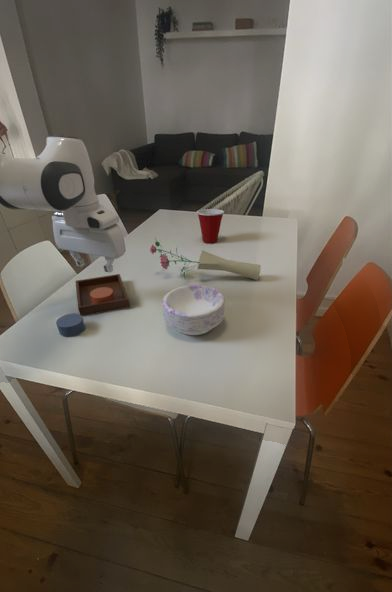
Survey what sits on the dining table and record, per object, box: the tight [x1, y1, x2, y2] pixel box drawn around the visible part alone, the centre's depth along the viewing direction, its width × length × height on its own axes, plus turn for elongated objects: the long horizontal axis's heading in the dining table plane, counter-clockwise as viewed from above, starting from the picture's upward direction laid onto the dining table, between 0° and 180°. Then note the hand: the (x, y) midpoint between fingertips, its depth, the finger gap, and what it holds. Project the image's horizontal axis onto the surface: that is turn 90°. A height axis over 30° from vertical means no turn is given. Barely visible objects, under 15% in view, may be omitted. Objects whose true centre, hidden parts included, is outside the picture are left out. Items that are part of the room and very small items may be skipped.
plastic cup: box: [196, 208, 225, 245], centre depth 127 cm, size 11×11×12 cm
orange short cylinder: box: [90, 287, 115, 304], centre depth 91 cm, size 6×6×3 cm
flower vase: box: [149, 237, 262, 281], centre depth 102 cm, size 12×12×35 cm
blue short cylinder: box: [55, 312, 86, 338], centre depth 80 cm, size 6×6×3 cm
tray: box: [75, 273, 131, 317], centre depth 94 cm, size 18×14×3 cm
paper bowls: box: [162, 284, 226, 336], centre depth 80 cm, size 15×15×8 cm
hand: (94, 268), depth 86 cm, fingers open, 8 cm apart
